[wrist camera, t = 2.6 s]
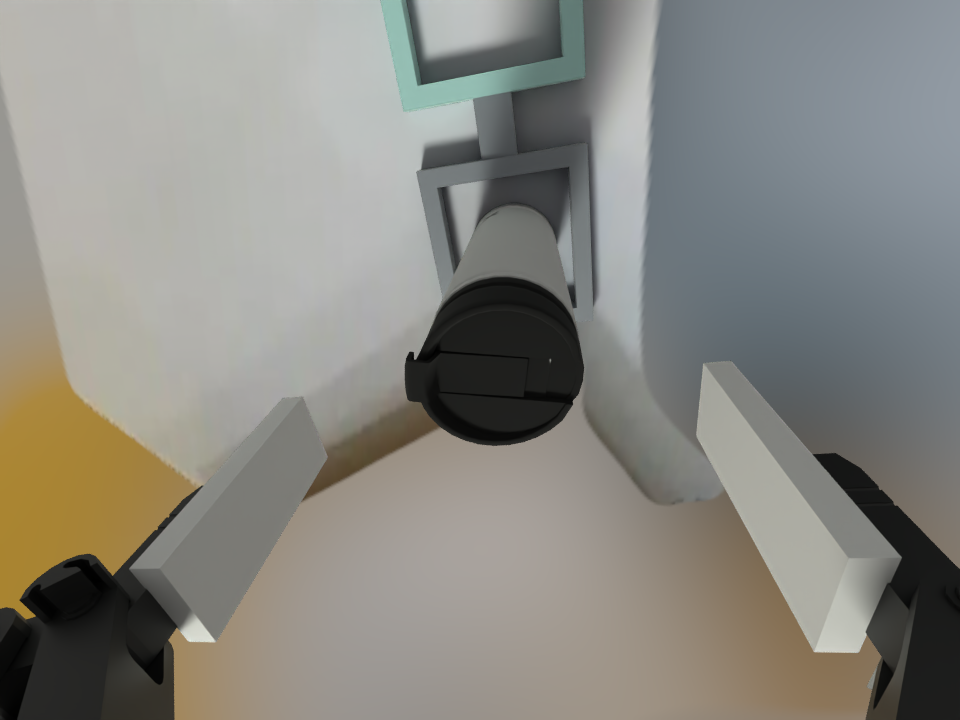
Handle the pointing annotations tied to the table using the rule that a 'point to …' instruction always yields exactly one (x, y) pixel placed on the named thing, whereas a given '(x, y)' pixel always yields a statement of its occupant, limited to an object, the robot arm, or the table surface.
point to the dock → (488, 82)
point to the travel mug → (501, 336)
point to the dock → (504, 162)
